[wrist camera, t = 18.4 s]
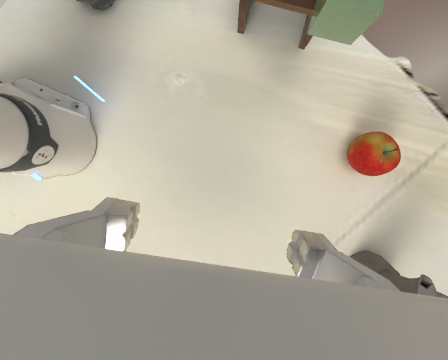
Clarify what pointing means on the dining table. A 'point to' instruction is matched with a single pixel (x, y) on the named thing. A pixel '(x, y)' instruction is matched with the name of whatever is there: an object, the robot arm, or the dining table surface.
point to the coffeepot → (397, 275)
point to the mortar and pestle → (99, 3)
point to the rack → (301, 3)
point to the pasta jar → (343, 18)
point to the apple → (374, 154)
